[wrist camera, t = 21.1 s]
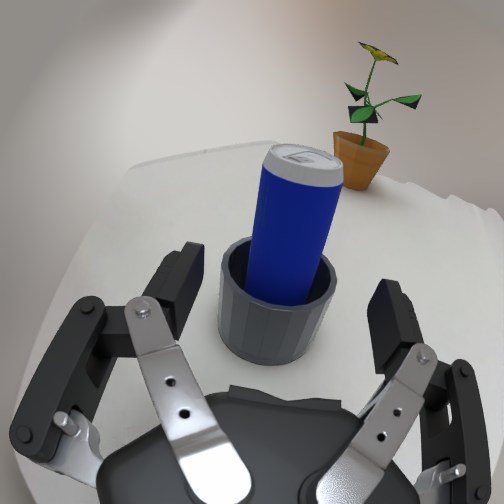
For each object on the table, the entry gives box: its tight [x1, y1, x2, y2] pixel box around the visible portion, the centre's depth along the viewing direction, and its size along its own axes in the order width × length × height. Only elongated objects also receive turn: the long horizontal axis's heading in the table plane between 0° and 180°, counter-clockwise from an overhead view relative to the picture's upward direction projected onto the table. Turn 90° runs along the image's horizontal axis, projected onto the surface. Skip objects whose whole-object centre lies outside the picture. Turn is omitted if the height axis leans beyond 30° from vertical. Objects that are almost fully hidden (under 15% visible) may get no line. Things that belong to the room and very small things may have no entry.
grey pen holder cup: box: [218, 236, 337, 365], centre depth 24 cm, size 9×9×7 cm
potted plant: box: [333, 42, 421, 190], centre depth 51 cm, size 18×19×30 cm
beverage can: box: [244, 144, 343, 306], centre depth 21 cm, size 5×5×15 cm
